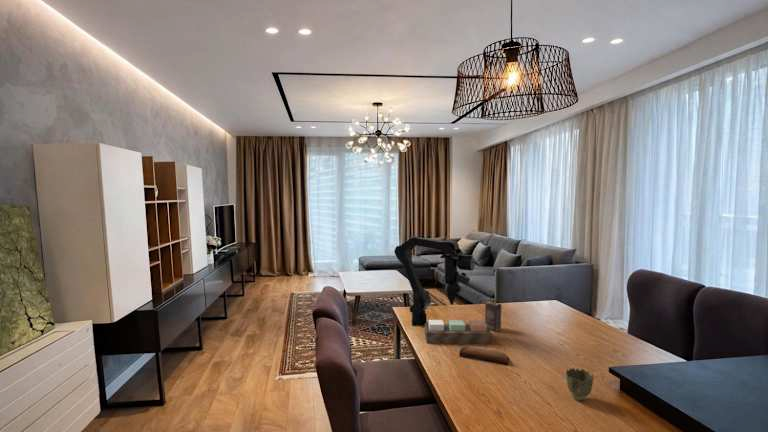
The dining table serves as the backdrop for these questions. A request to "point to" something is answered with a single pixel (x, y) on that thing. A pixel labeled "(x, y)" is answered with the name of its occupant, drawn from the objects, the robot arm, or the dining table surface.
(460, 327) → the key sage
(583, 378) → the cup
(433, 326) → the key cream
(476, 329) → the key terracotta
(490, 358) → the sunglasses case
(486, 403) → the dining table surface
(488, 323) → the box
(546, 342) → the dining table surface
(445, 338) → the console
